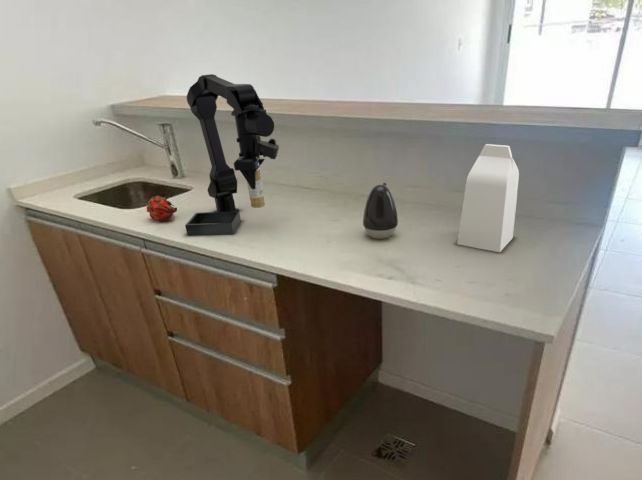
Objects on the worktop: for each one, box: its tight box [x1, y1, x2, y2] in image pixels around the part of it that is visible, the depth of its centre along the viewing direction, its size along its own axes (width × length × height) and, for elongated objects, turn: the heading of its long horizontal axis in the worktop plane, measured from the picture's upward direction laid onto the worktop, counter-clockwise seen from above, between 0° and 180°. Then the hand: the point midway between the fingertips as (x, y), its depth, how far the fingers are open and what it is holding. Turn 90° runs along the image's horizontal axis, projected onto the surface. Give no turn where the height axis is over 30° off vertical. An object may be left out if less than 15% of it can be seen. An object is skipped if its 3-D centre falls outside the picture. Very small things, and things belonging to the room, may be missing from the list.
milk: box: [456, 143, 520, 253], centre depth 125 cm, size 12×12×26 cm
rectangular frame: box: [184, 210, 242, 237], centre depth 150 cm, size 12×15×4 cm
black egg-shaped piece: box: [362, 182, 399, 240], centre depth 135 cm, size 10×10×15 cm
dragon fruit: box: [146, 195, 178, 223], centre depth 159 cm, size 8×8×12 cm
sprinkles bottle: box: [246, 163, 266, 209], centre depth 143 cm, size 5×5×13 cm
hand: (255, 186), depth 143 cm, fingers closed on sprinkles bottle, 4 cm apart
